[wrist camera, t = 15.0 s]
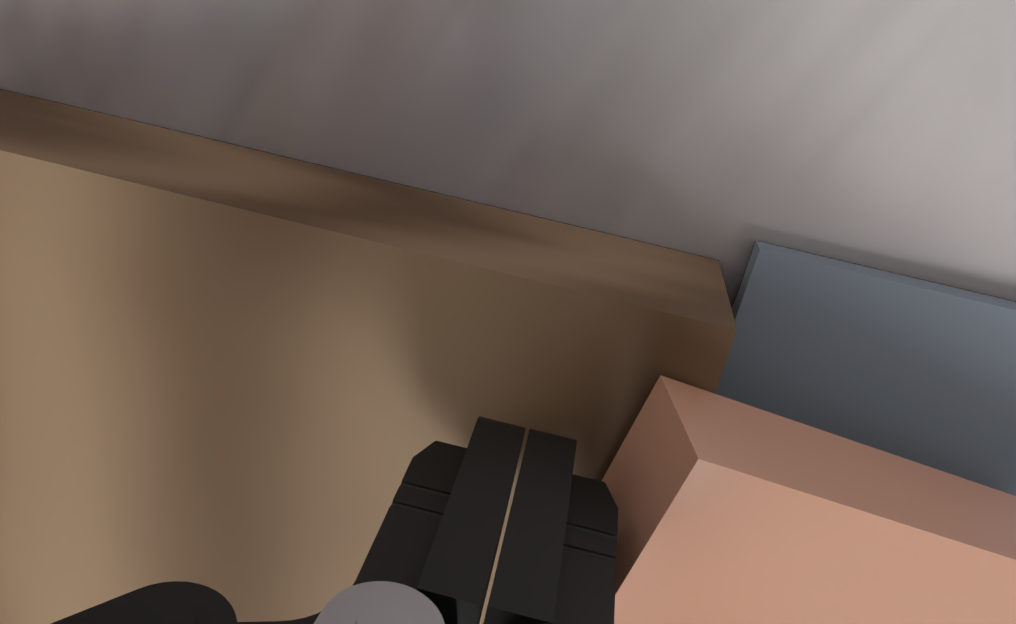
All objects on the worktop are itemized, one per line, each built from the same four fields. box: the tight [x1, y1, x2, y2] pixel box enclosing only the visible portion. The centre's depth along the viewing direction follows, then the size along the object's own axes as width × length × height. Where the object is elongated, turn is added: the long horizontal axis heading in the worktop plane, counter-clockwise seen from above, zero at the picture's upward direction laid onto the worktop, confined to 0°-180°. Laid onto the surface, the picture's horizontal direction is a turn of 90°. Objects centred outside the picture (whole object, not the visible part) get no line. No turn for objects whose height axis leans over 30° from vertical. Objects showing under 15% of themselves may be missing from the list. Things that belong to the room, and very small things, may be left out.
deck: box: [0, 89, 737, 624], centre depth 15 cm, size 14×13×3 cm
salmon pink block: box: [602, 375, 1016, 624], centre depth 12 cm, size 8×4×2 cm, turn 67°
